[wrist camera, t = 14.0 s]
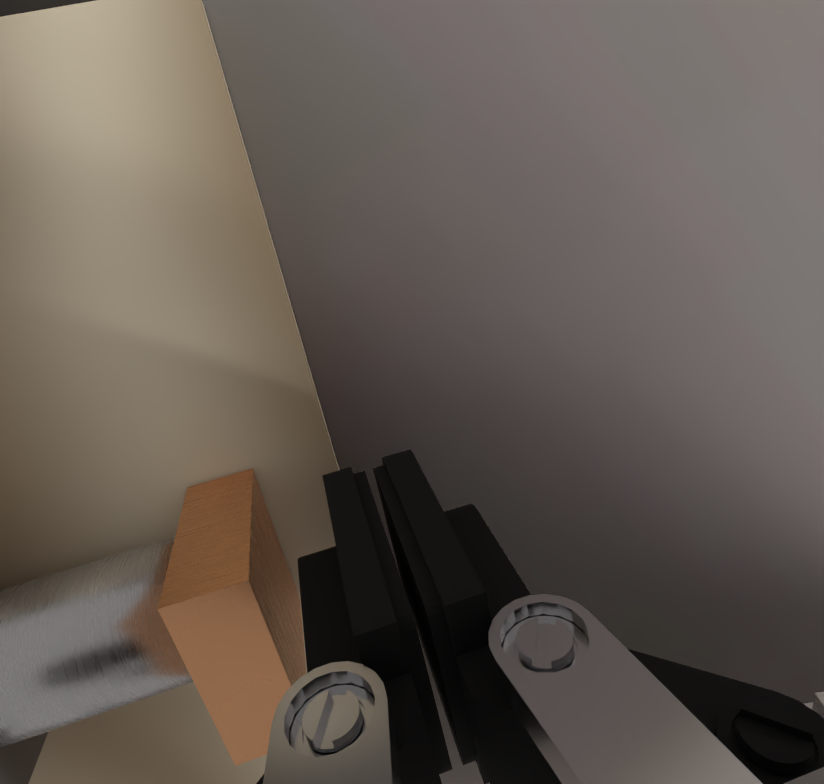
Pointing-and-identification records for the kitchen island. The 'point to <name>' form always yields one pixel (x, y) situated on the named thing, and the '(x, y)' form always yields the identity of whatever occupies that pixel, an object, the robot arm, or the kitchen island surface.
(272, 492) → the dock
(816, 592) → the kitchen island surface
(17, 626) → the lock pin
